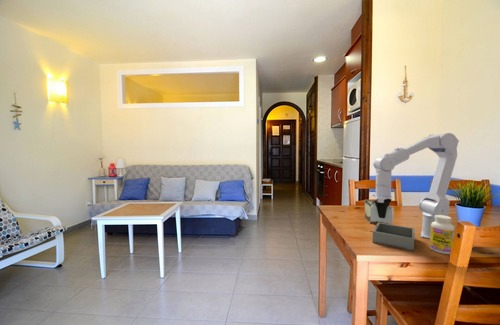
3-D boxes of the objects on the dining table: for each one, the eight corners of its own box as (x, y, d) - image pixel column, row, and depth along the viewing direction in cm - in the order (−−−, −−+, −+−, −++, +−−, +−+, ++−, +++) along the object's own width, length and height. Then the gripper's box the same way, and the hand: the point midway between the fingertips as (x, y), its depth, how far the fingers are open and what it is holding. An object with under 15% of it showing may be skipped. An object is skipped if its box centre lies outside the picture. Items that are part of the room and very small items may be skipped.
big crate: (414, 238, 97) (414, 228, 96) (413, 251, 85) (414, 239, 85) (377, 232, 105) (378, 222, 104) (372, 242, 93) (372, 231, 93)
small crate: (393, 220, 99) (393, 207, 98) (392, 223, 95) (392, 209, 95) (372, 217, 103) (372, 204, 103) (370, 220, 100) (370, 206, 99)
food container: (384, 225, 115) (384, 205, 114) (370, 224, 116) (371, 204, 115) (376, 218, 127) (376, 200, 126) (363, 217, 128) (364, 199, 128)
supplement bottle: (428, 250, 85) (429, 216, 85) (431, 245, 90) (432, 213, 89) (452, 256, 80) (454, 220, 80) (454, 250, 85) (455, 216, 84)
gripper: (375, 182, 106) (375, 211, 107) (369, 186, 95) (369, 218, 96) (393, 183, 102) (392, 213, 103) (389, 187, 91) (388, 221, 91)
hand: (382, 216), depth 99 cm, fingers closed on small crate, 5 cm apart
